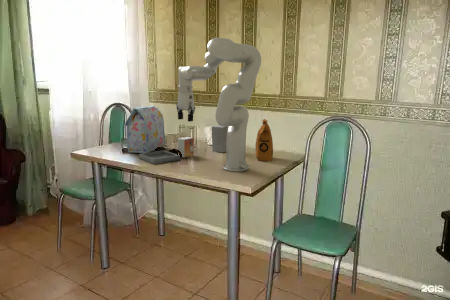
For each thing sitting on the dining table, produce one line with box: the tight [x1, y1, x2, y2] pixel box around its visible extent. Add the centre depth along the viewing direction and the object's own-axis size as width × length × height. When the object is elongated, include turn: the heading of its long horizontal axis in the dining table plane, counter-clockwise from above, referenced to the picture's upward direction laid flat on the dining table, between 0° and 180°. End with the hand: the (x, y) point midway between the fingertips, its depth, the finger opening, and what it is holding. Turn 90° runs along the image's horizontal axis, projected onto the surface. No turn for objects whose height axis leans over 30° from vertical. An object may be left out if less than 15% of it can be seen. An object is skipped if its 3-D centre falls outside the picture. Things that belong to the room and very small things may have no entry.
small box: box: [176, 136, 195, 159], centre depth 203 cm, size 8×6×10 cm
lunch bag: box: [124, 105, 166, 154], centre depth 216 cm, size 22×17×26 cm
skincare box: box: [210, 124, 229, 153], centre depth 216 cm, size 8×7×16 cm
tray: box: [138, 150, 181, 165], centre depth 195 cm, size 16×16×3 cm
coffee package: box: [255, 118, 274, 162], centre depth 198 cm, size 10×12×22 cm
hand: (185, 120), depth 200 cm, fingers open, 9 cm apart
